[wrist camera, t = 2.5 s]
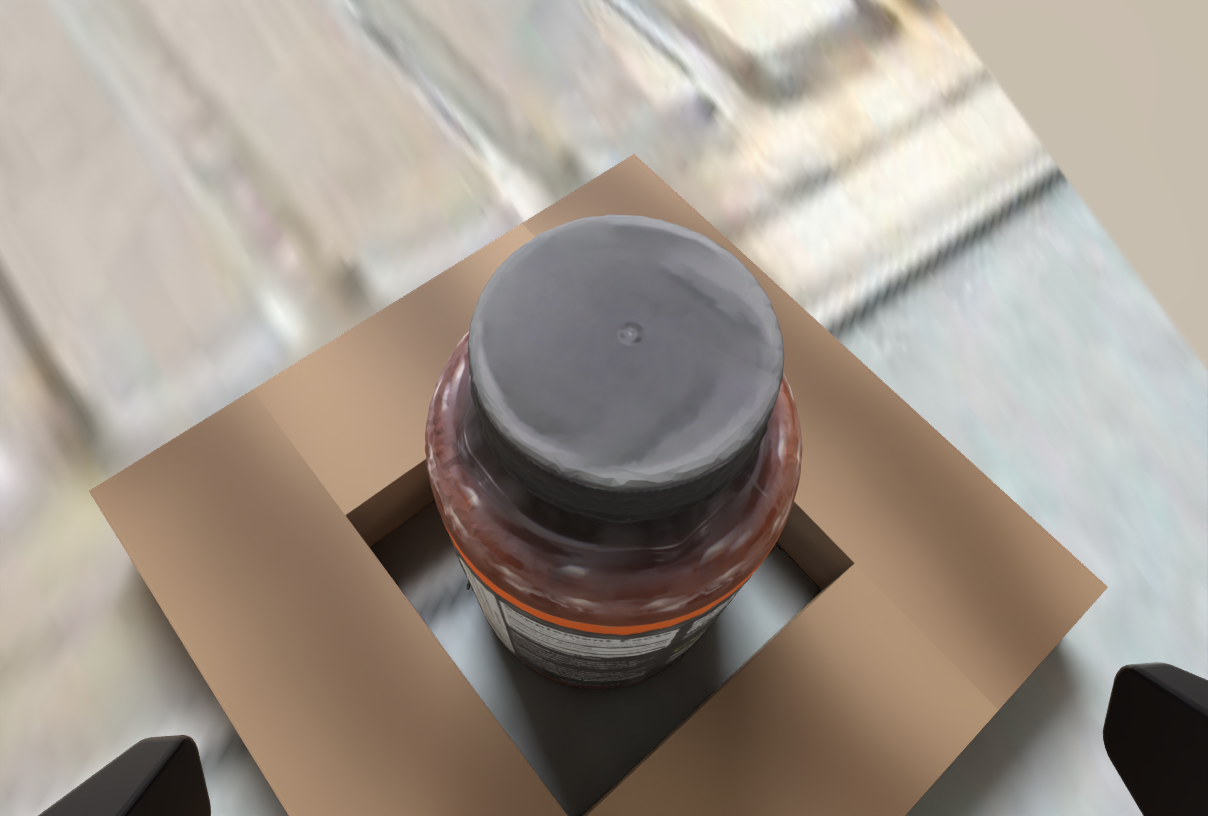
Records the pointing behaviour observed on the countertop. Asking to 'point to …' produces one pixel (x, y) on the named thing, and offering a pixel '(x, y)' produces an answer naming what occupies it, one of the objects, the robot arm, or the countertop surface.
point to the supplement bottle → (614, 445)
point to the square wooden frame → (439, 689)
